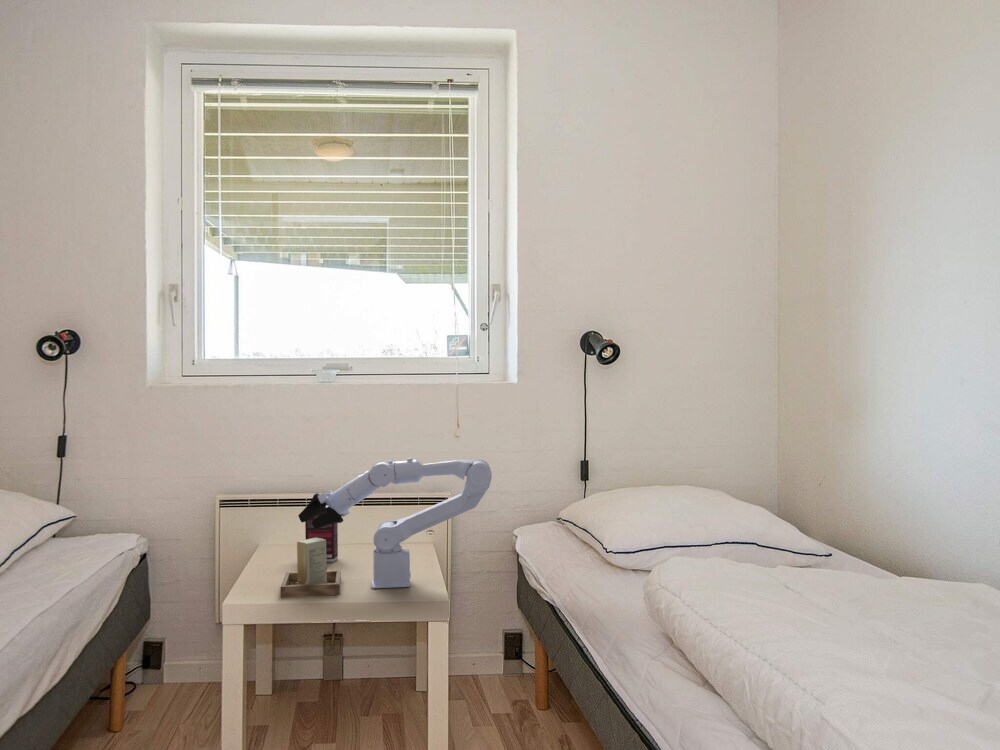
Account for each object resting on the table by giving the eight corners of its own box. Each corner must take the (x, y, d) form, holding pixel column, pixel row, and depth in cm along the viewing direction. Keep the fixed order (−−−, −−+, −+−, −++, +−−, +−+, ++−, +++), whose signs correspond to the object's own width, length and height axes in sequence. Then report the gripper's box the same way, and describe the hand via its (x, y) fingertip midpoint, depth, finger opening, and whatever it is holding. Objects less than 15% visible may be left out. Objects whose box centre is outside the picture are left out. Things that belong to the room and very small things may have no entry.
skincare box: (316, 584, 198) (317, 536, 198) (327, 586, 196) (327, 538, 196) (296, 589, 193) (296, 540, 193) (306, 592, 191) (306, 543, 191)
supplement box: (338, 558, 226) (338, 504, 226) (334, 562, 222) (334, 507, 222) (309, 558, 227) (309, 504, 227) (304, 562, 222) (304, 507, 222)
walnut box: (340, 579, 203) (340, 570, 203) (339, 594, 189) (339, 584, 189) (285, 582, 200) (285, 572, 200) (280, 597, 186) (280, 586, 186)
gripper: (356, 488, 206) (313, 516, 205) (333, 472, 193) (288, 502, 192) (367, 510, 203) (323, 538, 202) (345, 495, 190) (298, 525, 189)
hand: (306, 522), depth 197 cm, fingers open, 7 cm apart
